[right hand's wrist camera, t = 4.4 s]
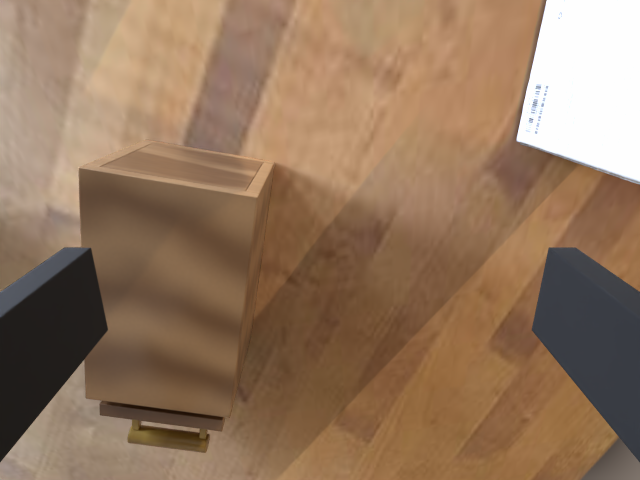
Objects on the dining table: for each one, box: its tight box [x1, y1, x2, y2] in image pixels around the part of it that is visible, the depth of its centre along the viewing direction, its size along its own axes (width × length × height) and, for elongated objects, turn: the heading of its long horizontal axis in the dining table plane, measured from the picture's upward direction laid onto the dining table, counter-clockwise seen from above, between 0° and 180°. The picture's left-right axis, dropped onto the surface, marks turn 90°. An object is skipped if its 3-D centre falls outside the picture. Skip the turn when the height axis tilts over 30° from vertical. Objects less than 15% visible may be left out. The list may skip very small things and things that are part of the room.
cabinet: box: [78, 140, 275, 418], centre depth 35 cm, size 18×11×11 cm, turn 170°
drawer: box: [100, 401, 226, 453], centre depth 38 cm, size 22×10×9 cm, turn 170°
